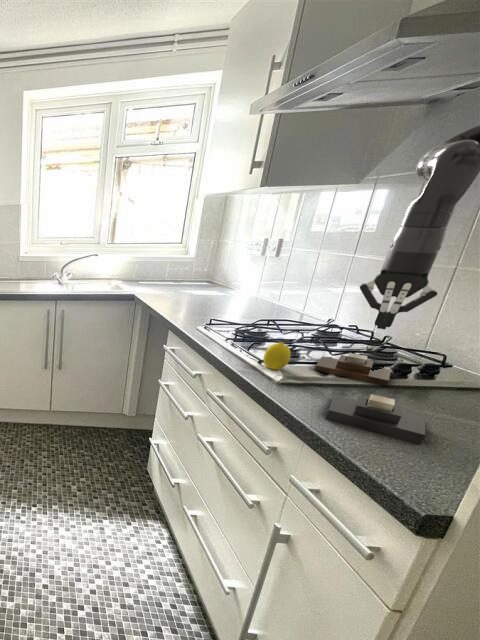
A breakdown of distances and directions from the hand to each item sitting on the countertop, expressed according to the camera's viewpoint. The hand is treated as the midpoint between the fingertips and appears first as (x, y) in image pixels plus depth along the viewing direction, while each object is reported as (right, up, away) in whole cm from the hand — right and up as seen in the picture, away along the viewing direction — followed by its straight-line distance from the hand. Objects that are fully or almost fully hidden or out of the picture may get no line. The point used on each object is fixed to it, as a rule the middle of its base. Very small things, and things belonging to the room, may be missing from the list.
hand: (380, 328), depth 95 cm
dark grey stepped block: (-12, -21, -10) cm, 26 cm away
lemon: (-14, -10, +15) cm, 23 cm away
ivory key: (-12, -18, -12) cm, 24 cm away
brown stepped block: (+5, -11, +13) cm, 17 cm away
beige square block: (+5, -7, +11) cm, 14 cm away
